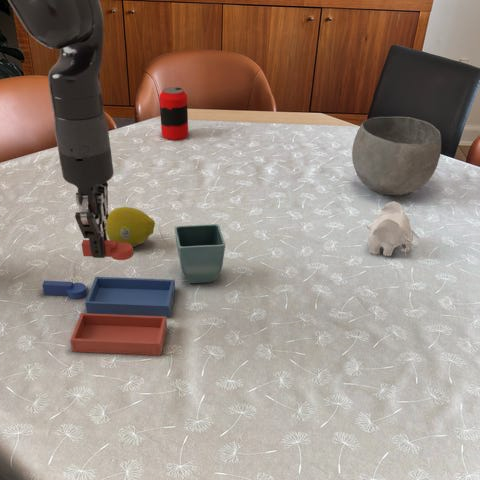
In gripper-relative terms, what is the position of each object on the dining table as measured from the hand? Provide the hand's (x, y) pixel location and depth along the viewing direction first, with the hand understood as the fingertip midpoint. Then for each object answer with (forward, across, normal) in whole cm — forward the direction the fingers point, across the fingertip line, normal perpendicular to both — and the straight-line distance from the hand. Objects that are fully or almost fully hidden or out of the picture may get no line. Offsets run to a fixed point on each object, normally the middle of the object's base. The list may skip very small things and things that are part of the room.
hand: (100, 253), depth 106 cm
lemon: (+15, -30, -1) cm, 34 cm away
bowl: (+15, -63, +58) cm, 87 cm away
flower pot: (+15, -18, +15) cm, 28 cm away
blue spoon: (+14, -11, -10) cm, 21 cm away
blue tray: (+14, -8, +2) cm, 17 cm away
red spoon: (0, 0, +1) cm, 1 cm away
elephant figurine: (+15, -32, +54) cm, 64 cm away
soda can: (+14, -96, +2) cm, 97 cm away
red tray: (+15, +4, +2) cm, 15 cm away
